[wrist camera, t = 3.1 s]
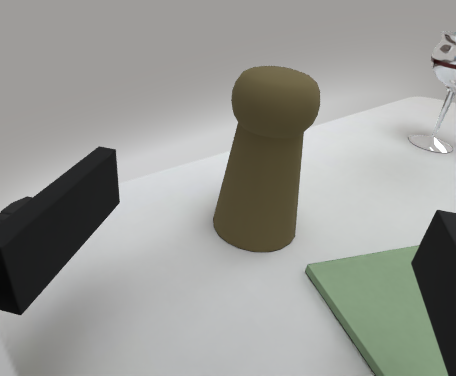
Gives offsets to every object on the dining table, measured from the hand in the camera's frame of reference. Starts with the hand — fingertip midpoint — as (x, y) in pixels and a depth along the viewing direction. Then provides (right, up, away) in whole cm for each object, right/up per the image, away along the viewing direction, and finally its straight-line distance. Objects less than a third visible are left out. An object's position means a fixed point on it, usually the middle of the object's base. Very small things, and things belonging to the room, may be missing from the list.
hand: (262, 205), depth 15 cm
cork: (+1, -2, +11) cm, 11 cm away
